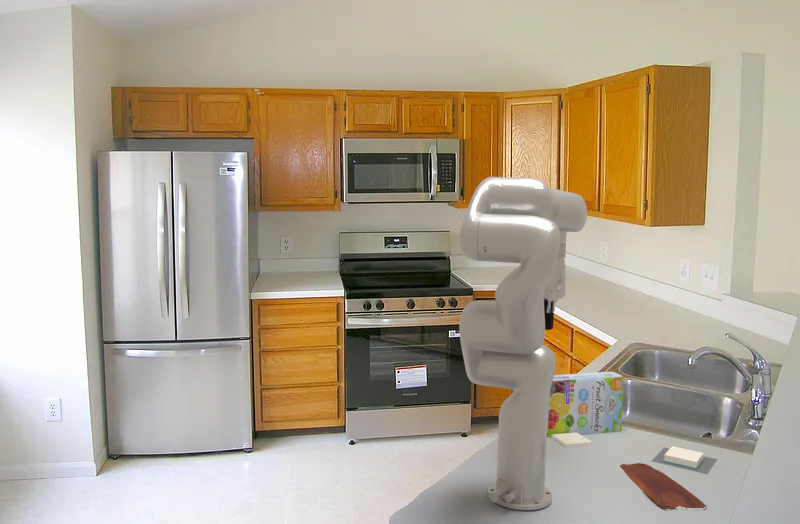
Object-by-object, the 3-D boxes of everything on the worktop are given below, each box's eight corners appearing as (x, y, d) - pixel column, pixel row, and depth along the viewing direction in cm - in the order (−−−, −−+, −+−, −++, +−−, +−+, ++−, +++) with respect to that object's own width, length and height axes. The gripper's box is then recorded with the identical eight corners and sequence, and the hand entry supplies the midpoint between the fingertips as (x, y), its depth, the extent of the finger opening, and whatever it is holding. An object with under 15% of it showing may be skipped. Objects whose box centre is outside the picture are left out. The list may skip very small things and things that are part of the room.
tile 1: (591, 449, 172) (591, 441, 172) (565, 451, 170) (566, 444, 170) (576, 439, 179) (576, 432, 178) (551, 441, 176) (551, 434, 176)
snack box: (609, 426, 188) (612, 370, 186) (621, 433, 183) (625, 376, 181) (537, 432, 182) (539, 374, 180) (547, 439, 176) (550, 380, 175)
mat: (707, 475, 156) (707, 474, 156) (651, 462, 163) (651, 461, 163) (717, 460, 165) (717, 459, 165) (664, 449, 172) (664, 447, 172)
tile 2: (703, 460, 164) (696, 469, 158) (671, 453, 168) (663, 462, 162) (703, 452, 164) (696, 462, 158) (672, 446, 168) (664, 454, 162)
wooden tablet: (710, 512, 139) (711, 504, 139) (661, 514, 138) (662, 505, 138) (647, 461, 166) (647, 454, 165) (606, 461, 164) (606, 454, 164)
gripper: (551, 254, 157) (547, 336, 159) (576, 250, 169) (572, 326, 171) (520, 251, 161) (516, 331, 163) (546, 248, 173) (543, 322, 175)
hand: (545, 328), depth 167 cm, fingers closed
